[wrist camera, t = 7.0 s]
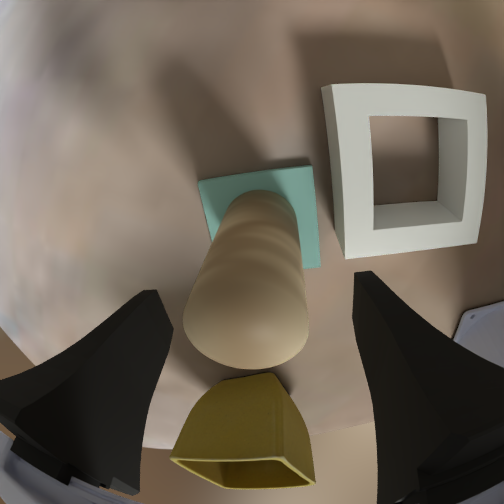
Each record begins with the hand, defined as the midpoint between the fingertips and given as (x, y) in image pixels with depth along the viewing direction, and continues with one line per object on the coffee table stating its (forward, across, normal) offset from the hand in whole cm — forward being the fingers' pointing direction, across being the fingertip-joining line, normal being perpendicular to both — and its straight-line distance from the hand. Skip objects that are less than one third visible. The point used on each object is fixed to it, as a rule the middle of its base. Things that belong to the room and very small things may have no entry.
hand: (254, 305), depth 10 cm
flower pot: (+7, +3, +16) cm, 18 cm away
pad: (+7, 0, 0) cm, 7 cm away
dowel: (+6, 0, 0) cm, 7 cm away
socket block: (+7, -8, -3) cm, 11 cm away
